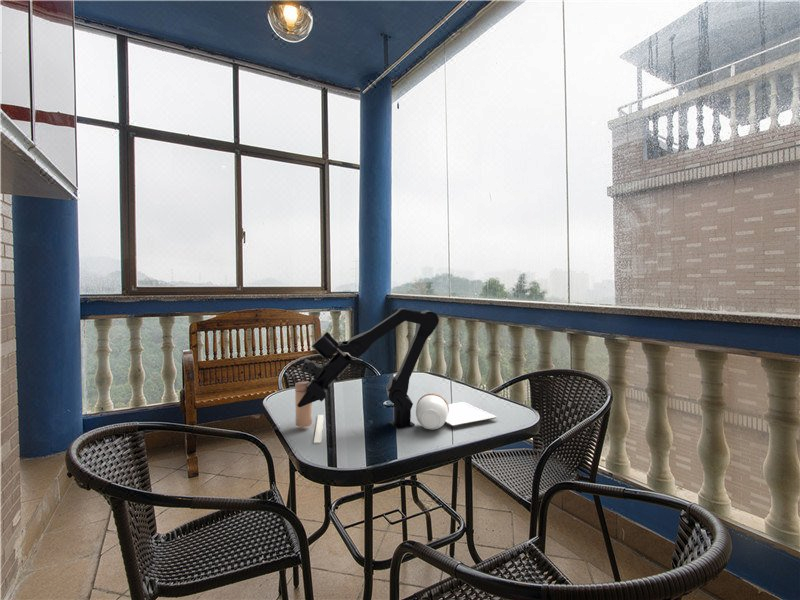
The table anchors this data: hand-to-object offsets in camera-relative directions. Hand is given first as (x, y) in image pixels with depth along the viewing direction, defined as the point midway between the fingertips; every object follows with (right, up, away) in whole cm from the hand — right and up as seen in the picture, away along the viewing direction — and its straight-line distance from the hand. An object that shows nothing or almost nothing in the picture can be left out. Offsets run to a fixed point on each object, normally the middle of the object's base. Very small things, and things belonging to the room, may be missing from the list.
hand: (299, 403), depth 125 cm
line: (+6, -8, +1) cm, 10 cm away
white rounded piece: (+41, -4, -3) cm, 42 cm away
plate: (+53, -9, +13) cm, 55 cm away
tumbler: (+1, -7, 0) cm, 7 cm away
